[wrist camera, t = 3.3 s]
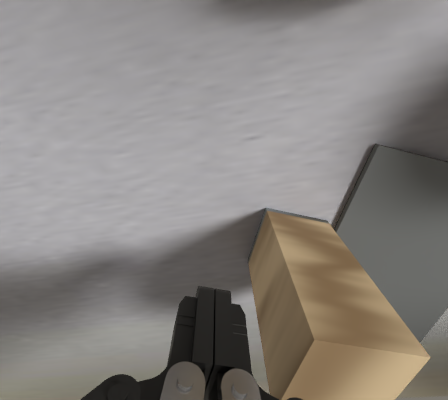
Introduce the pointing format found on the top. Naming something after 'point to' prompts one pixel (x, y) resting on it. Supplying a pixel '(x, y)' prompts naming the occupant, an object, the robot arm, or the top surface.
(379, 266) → the mat
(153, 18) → the top surface
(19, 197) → the top surface
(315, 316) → the oak block
